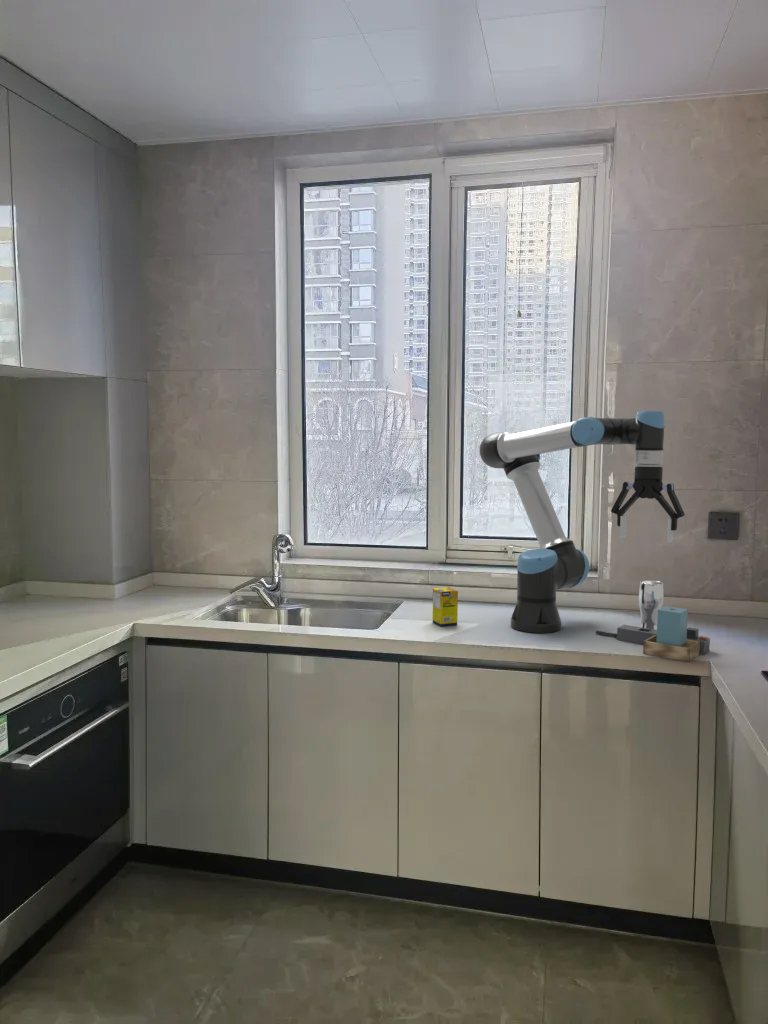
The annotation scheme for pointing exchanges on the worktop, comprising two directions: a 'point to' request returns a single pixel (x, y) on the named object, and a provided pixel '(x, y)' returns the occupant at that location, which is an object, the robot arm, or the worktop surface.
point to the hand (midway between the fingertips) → (645, 540)
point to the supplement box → (445, 606)
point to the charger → (672, 626)
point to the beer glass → (650, 602)
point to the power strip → (642, 634)
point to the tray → (672, 649)
